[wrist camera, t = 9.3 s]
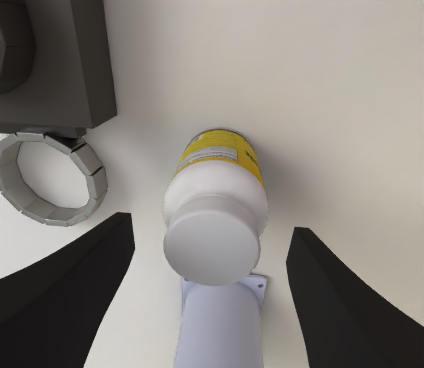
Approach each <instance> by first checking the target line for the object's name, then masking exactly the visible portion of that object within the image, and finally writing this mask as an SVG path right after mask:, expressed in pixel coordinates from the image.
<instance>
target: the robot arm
mask: <svg viewBox="0 0 424 368" xmlns="http://www.w3.org/2000/svg"><path fill="white" fill-rule="evenodd" d="M134 251H135V242H134V234H133V226H132V218H131V213H122V212H117V213H115V214H114V215H112V216H110V217H109V218H107V219H106V220H104V221H103V222H102V223H100V224H99V225H97V226H96V227H94V228H93V229H91V230H90V231H88V232H87V233H85V234H84V235H82V236H81V237H79V238H77V239H76V240H74V241H72V242H71V243H69V244H67V245H66V246H64V247H63V248H61V249H59V250H58V251H56V252H54V253H52V254H51V255H49V256H47V257H45V258H43V259H41V260H40V261H38V262H36V263H34V264H32V265H30V266H28V267H26V268H24V269H22V270H19V271H17V272H15V273H13V274H10V275H8V276H6V277H4V278H1V279H0V368H83V367H84V364H85V361H86V359H87V356H88V353H89V351H90V348H91V346H92V343H93V341H94V338H95V336H96V333H97V331H98V328H99V326H100V324H101V322H102V319H103V317H104V315H105V313H106V311H107V309H108V307H109V305H110V304H111V302H112V300H113V298H114V296H115V294H116V292H117V290H118V288H119V286H120V284H121V282H122V280H123V278H124V276H125V274H126V272H127V270H128V268H129V265H130V262H131V260H132V257H133V254H134ZM286 266H287V274H288V281H289V286H290V290H291V293H292V297H293V301H294V304H295V308H296V312H297V315H298V319H299V323H300V326H301V330H302V333H303V337H304V341H305V346H306V350H307V356H308V362H309V367H310V368H424V327H423V326H422V325H420V324H419V323H418V322H416V321H415V320H413V319H412V318H410V317H409V316H407V315H406V314H405V313H403V312H402V311H400V310H399V309H398V308H396V307H395V306H394V305H392V304H391V303H390V302H388V301H387V300H386V299H385V298H383V297H382V296H381V295H379V294H378V293H377V292H376V291H374V290H373V289H372V288H371V287H370V286H368V285H367V284H366V283H365V282H364V281H363V280H361V279H360V278H359V277H358V276H357V275H356V274H355V273H354V272H352V271H351V270H350V269H349V268H348V267H347V266H346V265H345V264H344V263H343V262H342V261H341V260H340V259H339V258H338V257H337V256H336V255H335V254H334V253H333V252H332V251H331V250H330V249H329V248H328V247H327V246H326V245H325V244H324V243H323V242H322V241H321V240H320V239H319V238H318V237H317V236H316V235H315V234H314V233H313V231H312V230H310V229H309V228H303V227H294V231H293V235H292V240H291V244H290V248H289V252H288V256H287V260H286ZM259 284H262V285H259ZM266 285H267V279H266V277H265V276H261V275H250V274H249V275H247V276H246V277H245V278H243V279H242V280H240V281H238V282H235V283H232V284H228V285H223V286H205V285H200V284H197V283H194V282H191V281H189V280H187V279H185V278H184V277H182V323H181V328H180V333H179V338H178V343H177V349H176V354H175V359H174V364H173V368H264V360H263V350H262V339H261V329H260V313H261V309H262V304H263V299H264V294H265V289H266Z"/></svg>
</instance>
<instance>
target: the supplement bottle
mask: <svg viewBox="0 0 424 368" xmlns="http://www.w3.org/2000/svg"><path fill="white" fill-rule="evenodd" d="M163 216H164V221H165V223H166V226H167V228H168V229H167V231H166V234H165V238H164V253H165V256H166V259H167V261H168V263H169V264H170V266H171V267H172V268H173V269H174V270H175V271H176V272H177V273H178V274H179V275H181V276H182V277H184V278H185V279H187V280H189V281H191V282H194V283H197V284H200V285H205V286H223V285H228V284H232V283H235V282H238V281H240V280H242V279H243V278H245V277H246V276H247V275H249V274H250V273H251V272H252V271H253V269H254V268H255V266H256V265H257V263H258V260H259V257H260V240H259V236H260V235H261V234H262V232H263V230H264V228H265V226H266V223H267V219H268V201H267V196H266V192H265V188H264V184H263V179H262V175H261V171H260V167H259V163H258V159H257V156H256V152H255V150H254V148H253V146H252V144H251V143H250V142H249V140H248V139H247V138H246V137H245V136H243V135H242V134H241V133H239V132H237V131H235V130H232V129H228V128H211V129H208V130H205V131H203V132H201V133H199V134H198V135H196V136H195V137H194V138H193V139H192V140H191V142H190V143H189V144H188V146H187V148H186V150H185V152H184V154H183V156H182V158H181V160H180V162H179V165H178V167H177V169H176V171H175V173H174V175H173V177H172V179H171V182H170V184H169V186H168V188H167V190H166V193H165V196H164V201H163Z"/></svg>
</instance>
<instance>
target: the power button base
mask: <svg viewBox="0 0 424 368" xmlns="http://www.w3.org/2000/svg"><path fill="white" fill-rule="evenodd" d="M115 116H117V110H116V102H115V95H114V87H113V79H112V71H111V64H110V56H109V48H108V40H107V32H106V25H105V17H104V9H103V1H102V0H0V123H15V124H30V125H45V126H60V127H75V128H90V129H93V128H95V127H97V126H99V125H101V124H102V123H104V122H106V121H108V120H110V119H111V118H113V117H115Z"/></svg>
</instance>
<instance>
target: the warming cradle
mask: <svg viewBox="0 0 424 368" xmlns="http://www.w3.org/2000/svg"><path fill="white" fill-rule="evenodd" d="M0 133H5V134H11V135H9V136H8V137H6V138H4V139H3V140H1V141H0V191H3V192H1V194H2V195H3V196H4V197H5V198H6V199H7V200H8V201H9V202H10V203H11V204H12V205H13V206H14V207H15V208H16V209H17V210H18V211H21V210H22V212H21V213H22V214H24V215H26V216H28V217H30V218H32V219H34V220H36V221H38V222H40V223H42V224H44V223H46V225H53V226H65V227H68V226H69V225H70V226H73V225H75V224H77V223H79V222H81V221H84V220H86V219H88V218H89V217H90V216H91V215H92V214H93V212H94V211H95V210H96V209H97V208H98V207H99V205H100V203H101V202H102V200H103V198H104V196H105V194H106V192H107V188H108V187H107V181H106V175H105V169H104V167H102V165H103V164H102V162H101V161H100V160H99V158H98V157H97V156H96V154H95V153H94V152H93V150H92V149H91V148H90V146H89V145H88V144H86V145H84V144H85V141H83V140H81V139H80V137H82V136H83V135H85V134H86V128H75V127H60V126H45V125H30V124H15V123H0ZM23 141H35V142H45V143H47V144H49V145H50V146H52V147H54V148H56V149H58V150H59V151H61V152H63V153H65V154H67V155H68V156H70V158H71V159H72V160H73V161H74V163H75V164H76V165H77V166H78V168H79V169H80V170H81V171H82V173H83V174H84V175H85V177H86V181H87V186H88V191H89V196H90V199H89V201H88V203H87V205H85V206H83V207H81V208H79V209H70V208H58V207H56V206H54V205H52V204H50V203H48V202H46V201H44V200H42V199H40V198H38V197H37V196H36V195H35V193H34V192H33V191H32V190H31V189H30V188H29V187H28V186H27V185H26V184H25V183H24V182H23V180H22V177H21V174H20V171H19V169H18V166H17V163H16V158H17V155H18V151H19V147H20V144H21V143H22V142H23Z"/></svg>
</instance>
